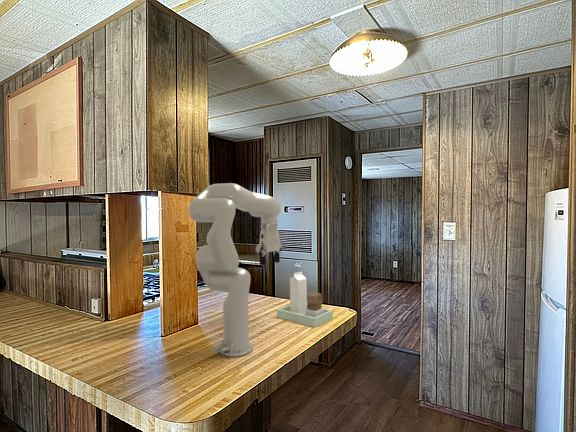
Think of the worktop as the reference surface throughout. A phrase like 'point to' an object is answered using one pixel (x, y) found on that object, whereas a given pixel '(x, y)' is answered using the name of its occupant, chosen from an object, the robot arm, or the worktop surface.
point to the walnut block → (314, 301)
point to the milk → (298, 293)
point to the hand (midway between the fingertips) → (269, 263)
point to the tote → (304, 317)
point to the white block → (314, 312)
